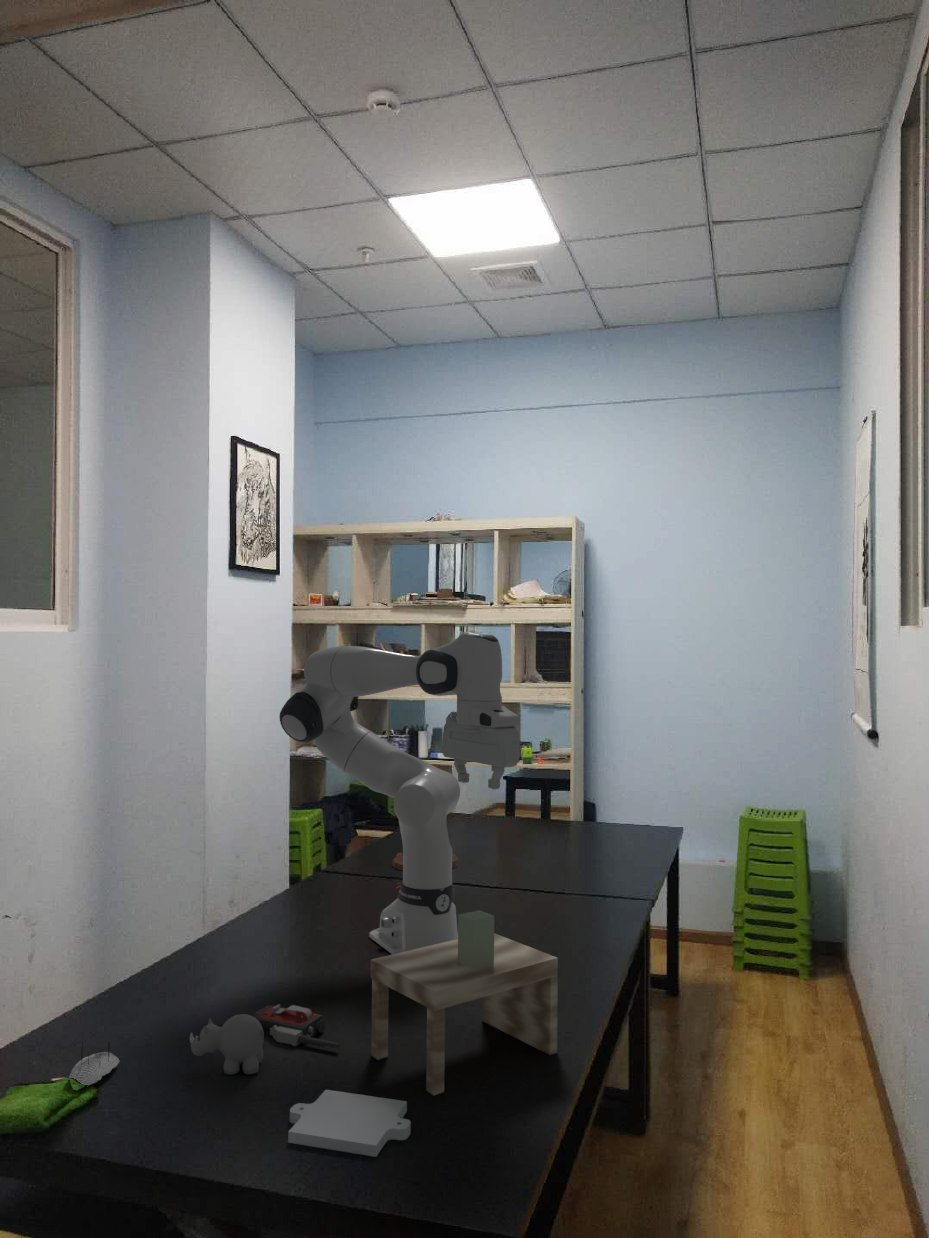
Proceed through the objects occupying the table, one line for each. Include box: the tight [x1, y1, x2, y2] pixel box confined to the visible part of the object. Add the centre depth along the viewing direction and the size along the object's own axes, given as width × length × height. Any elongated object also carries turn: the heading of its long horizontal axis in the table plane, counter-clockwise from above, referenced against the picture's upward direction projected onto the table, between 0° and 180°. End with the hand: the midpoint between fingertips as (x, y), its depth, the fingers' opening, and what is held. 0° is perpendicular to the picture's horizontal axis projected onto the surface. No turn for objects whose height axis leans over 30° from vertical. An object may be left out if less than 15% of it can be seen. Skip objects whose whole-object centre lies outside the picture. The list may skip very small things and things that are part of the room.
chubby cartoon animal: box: [189, 1013, 265, 1076], centre depth 159 cm, size 7×12×8 cm, turn 88°
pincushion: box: [68, 1040, 121, 1086], centre depth 155 cm, size 12×6×6 cm, turn 173°
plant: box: [391, 851, 459, 872], centre depth 299 cm, size 20×20×11 cm
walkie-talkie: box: [252, 1003, 341, 1049], centre depth 172 cm, size 9×4×20 cm
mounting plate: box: [287, 1089, 412, 1157], centre depth 140 cm, size 18×13×2 cm
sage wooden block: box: [457, 909, 495, 970], centre depth 163 cm, size 4×4×8 cm
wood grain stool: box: [370, 932, 559, 1096], centre depth 165 cm, size 18×26×16 cm
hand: (478, 785), depth 191 cm, fingers open, 8 cm apart
